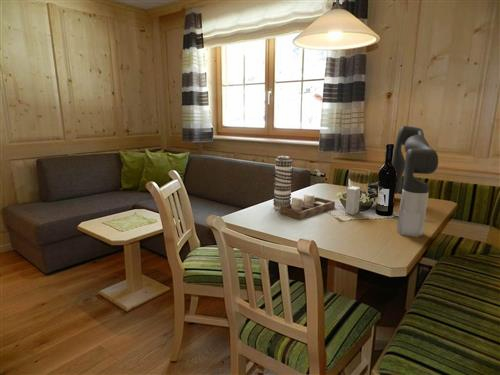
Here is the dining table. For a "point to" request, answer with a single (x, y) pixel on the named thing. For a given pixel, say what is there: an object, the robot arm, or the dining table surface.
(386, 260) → the dining table surface
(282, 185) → the grey striped cylinder
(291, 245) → the dining table surface
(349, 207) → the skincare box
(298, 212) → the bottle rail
